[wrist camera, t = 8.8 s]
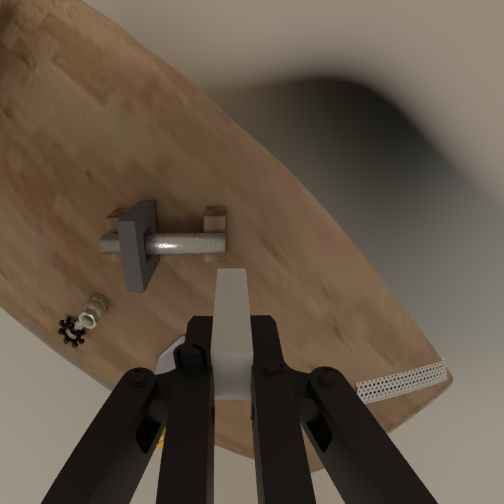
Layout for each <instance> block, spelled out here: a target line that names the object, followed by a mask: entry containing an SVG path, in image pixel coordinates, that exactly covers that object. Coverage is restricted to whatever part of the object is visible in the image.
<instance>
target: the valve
mask: <svg viewBox="0 0 504 504" xmlns="http://www.w3.org/2000/svg"><path fill="white" fill-rule="evenodd" d="M107 306H108V303H107V301H106V298H105V297H104V296H102V295H99V294H97V293H96V294H95V295H94V296H93V297H92V298H91V299H90V300H89V301H87V302H86V303H85V305H84V307H83V311H82V312H81V313H80V314H79V316H78V318H79V319H78V320H77V321H76V322H75V323H74V324H73V323H71V320H72V319H71V318H70V317H68V318H67V319H66V323H64V320H61V321H60V322H59V325H60V326H61V327H62V328H60V329H59V330H58V333H59V334H60V335H64V337H65V339H64V340H63V341H64V343H65V344H68V343H69V342H71V343H72V346H73V347H74V348H76V347H77V346H78V343H77V342H79V344H83V343H84V339H81V336H83V335H84V334H85V331H84V330H81V329H82V328H83V327H86V328H89V329H92V328H94V327H95V326H96V325H97V323H98V321H100V320H101V319H102V317H103V316H104V310H105V309H106V308H107ZM66 329H69V330H68V333H69V335H70V336H74V335H76V339H71V338H70V337H69V336H68V335H67V334H66V331H65V330H66ZM80 330H81V331H80Z"/></svg>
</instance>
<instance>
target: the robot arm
mask: <svg viewBox="0 0 504 504" xmlns="http://www.w3.org/2000/svg"><path fill="white" fill-rule="evenodd" d="M173 357H174V362H175V367H176V368H175V369H173V370H171V371H169V372H166V373H161V374H156V375H155V374H154V373H153V372H152V371H151V370H149V369H147V368H140V367H139V368H133V369H131V370H129V371H127V372H126V373H125V374H124V375H123V377H122V378H121V380H120V381H119V382H118V384H117V385H116V387H115V388H114V390H113V391H112V393H111V394H110V396H109V397H108V399H107V400H106V402H105V403H104V405H103V406H102V408H101V409H100V411H99V412H98V414H97V415H96V417H95V418H94V420H93V421H92V423H91V424H90V426H89V427H88V429H87V431H86V432H85V433H84V435H83V437H82V438H81V440H80V442H79V443H78V444H77V446H76V448H75V449H74V451H73V452H72V454H71V455H70V457H69V459H68V460H67V462H66V463H65V465H64V467H63V468H62V470H61V471H60V473H59V474H58V476H57V478H56V479H55V481H54V483H53V484H52V486H51V488H50V489H49V491H48V492H47V494H46V496H45V497H44V499H43V501H42V503H41V504H129V503H130V501H131V499H132V497H133V495H134V492H135V490H136V488H137V486H138V484H139V482H140V480H141V477H142V475H143V473H144V471H145V469H146V467H147V465H148V463H149V461H150V458H151V456H152V454H153V452H154V450H155V448H156V446H157V444H158V442H159V439H160V437H161V435H162V433H163V431H164V429H165V427H166V429H165V436H164V443H163V450H162V457H161V464H160V472H159V480H158V489H157V498H156V504H214V431H215V405H214V398H215V399H251V420H252V429H253V443H254V456H255V468H256V482H257V494H258V504H316V500H315V495H314V490H313V485H312V480H311V475H310V470H309V465H308V460H307V455H306V450H305V445H304V440H303V435H302V430H301V425H302V427H303V429H304V430H305V432H306V434H307V436H308V438H309V440H310V442H311V443H312V445H313V447H314V449H315V451H316V453H317V454H318V456H319V458H320V460H321V462H322V463H323V465H324V467H325V469H326V471H327V472H328V474H329V476H330V478H331V479H332V481H333V483H334V485H335V486H336V488H337V490H338V492H339V493H340V495H341V497H342V499H343V500H344V502H345V504H438V503H437V502H436V500H435V499H434V497H433V496H432V495H431V493H430V492H429V491H428V489H427V488H426V487H425V485H424V484H423V483H422V481H421V480H420V479H419V477H418V476H417V475H416V473H415V472H414V470H413V469H412V468H411V466H410V465H409V464H408V462H407V461H406V460H405V458H404V457H403V456H402V454H401V453H400V452H399V450H398V449H397V448H396V446H395V445H394V444H393V442H392V441H391V439H390V438H389V437H388V435H387V434H386V433H385V431H384V430H383V429H382V427H381V426H380V425H379V423H378V422H377V420H376V419H375V418H374V416H373V415H372V414H371V412H370V411H369V410H368V408H367V407H366V406H365V404H364V403H363V402H362V400H361V399H360V398H359V396H358V395H357V393H356V392H355V391H354V389H353V388H352V387H351V385H350V384H349V383H348V381H347V380H346V379H345V377H344V376H343V375H342V373H340V372H339V371H338V370H337V369H334V368H332V367H326V366H324V367H318V368H316V369H314V370H313V371H312V372H311V373H304V372H299V371H295V370H293V369H291V368H290V367H289V366H287V364H286V363H285V362H284V359H283V355H282V350H281V345H280V340H279V335H278V331H277V325H276V322H275V320H274V319H273V318H272V317H271V316H270V315H257V316H250V311H249V300H248V289H247V277H246V269H218V272H217V283H216V293H215V304H214V316H193V317H192V319H191V320H190V321H189V322H188V325H187V332H186V336H185V341H184V343H182V344H180V345H178V346H177V347H176V348H175V349H174V351H173ZM300 423H301V425H300Z"/></svg>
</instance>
